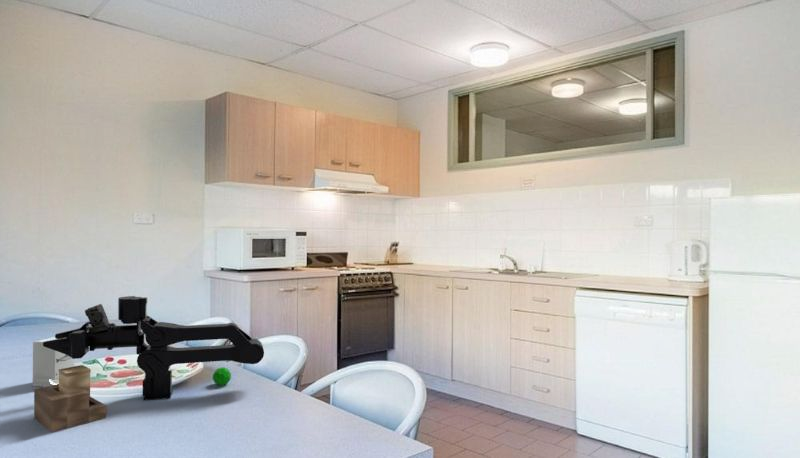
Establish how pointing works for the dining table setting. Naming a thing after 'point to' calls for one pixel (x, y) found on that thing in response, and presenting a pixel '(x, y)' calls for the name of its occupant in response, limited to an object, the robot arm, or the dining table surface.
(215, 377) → the polyhedron
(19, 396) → the dining table surface
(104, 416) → the socket
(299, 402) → the dining table surface
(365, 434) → the dining table surface
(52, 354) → the supplement box
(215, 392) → the dining table surface
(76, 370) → the peg
